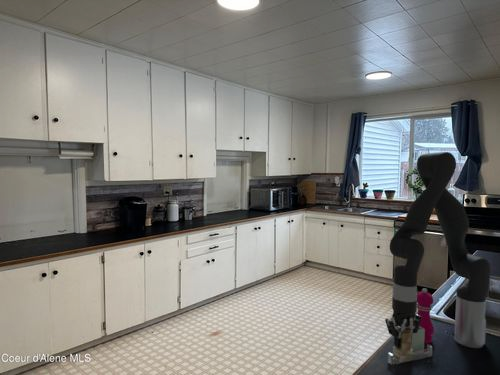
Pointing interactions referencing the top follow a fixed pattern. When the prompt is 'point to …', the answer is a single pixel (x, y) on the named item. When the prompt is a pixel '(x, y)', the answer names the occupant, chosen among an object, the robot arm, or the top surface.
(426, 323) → the pepper mill
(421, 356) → the rail
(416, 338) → the cabinet
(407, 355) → the carriage
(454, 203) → the robot arm
